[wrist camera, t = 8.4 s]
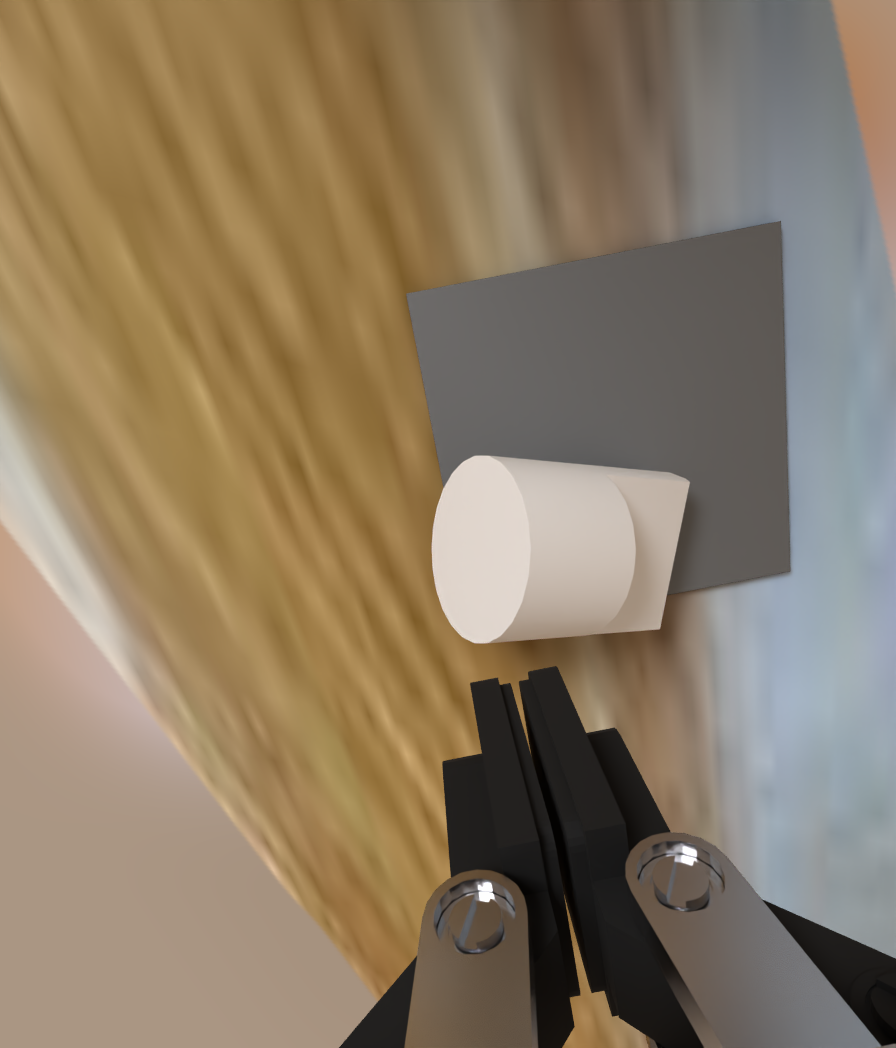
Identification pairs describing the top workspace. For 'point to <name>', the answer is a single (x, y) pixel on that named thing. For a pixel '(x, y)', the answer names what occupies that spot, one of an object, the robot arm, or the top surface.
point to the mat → (631, 382)
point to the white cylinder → (554, 548)
